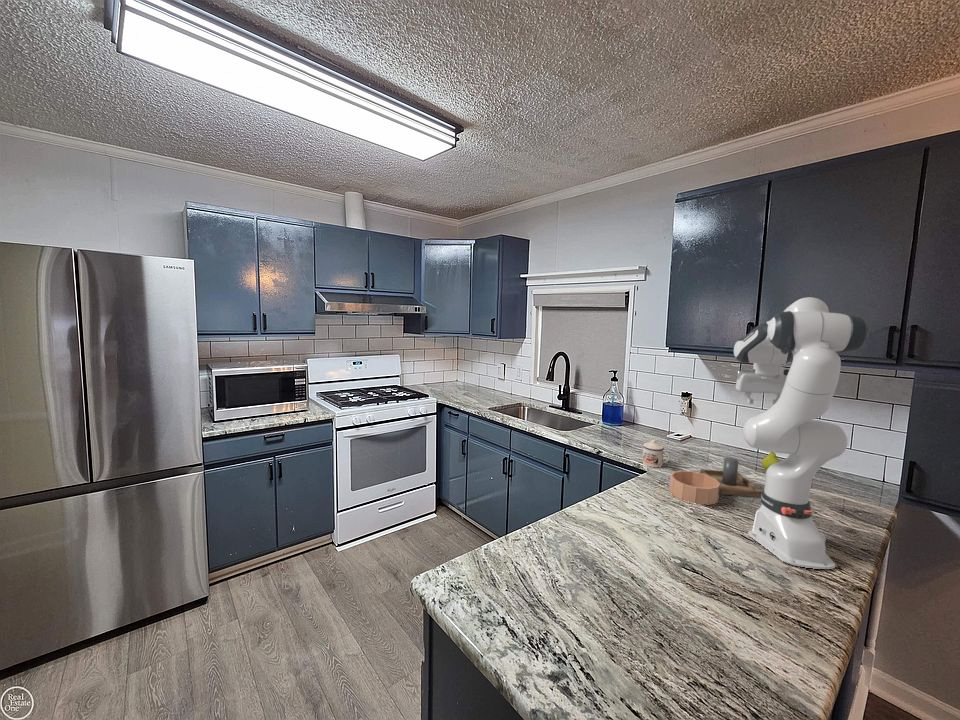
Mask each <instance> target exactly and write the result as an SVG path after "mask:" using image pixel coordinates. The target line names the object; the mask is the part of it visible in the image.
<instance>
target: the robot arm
mask: <svg viewBox="0 0 960 720" xmlns="http://www.w3.org/2000/svg"><path fill="white" fill-rule="evenodd" d="M868 335H869V325H868V323H867V321H866V320H865V319H864V318H863V317H861V316H859V315H855V314H851V313H846V312H840V313H839V312H830V310H829V307H828V305H827V304H826V303H825V301H823V300H822V299H820V298H817V297H811V296H809V297H808V296H807V297H802V298H800V299H797V300H795V301H794V302H793V303H791V304H789V306H787V307H786V308H785V309H784V310H783V311H780V312H777V313H775V314H774V315H772V317H771V319H770V320H768V321H766V322H763V323H761V324H758V325H757V326H756V327H754V328H753V329H752V330H751V331H750V332H749V333H747V334H746V335H745V336H741V337H740V338H738V340H736V341H735V344H734V347H733V356H734V358H735V359H736V360H737V361H738V362H739V363H741V364H753V366H752V367H753V368H741V369H740V370H739V371H738V372H737V373H736V375H737V376H736V377H737V379H736V382H735V383H736V384H735V389H736V391H737V392H739V393H744V395H745V397H746V399H747V401H746V402H747V404H754V401H755V400H754V399H753V398H752V397H751V396H752V394H753V393H755V394H776V396H777V397H776V398H775V399H772V406H771V407H770V408H768V409H767V410H765V411H763V412H761V413H759V414H757V415H754V416H751V417H749V418H748V419H747V420H746V421H745V423H744V424H743V427H742V437H743V439H744V440H745V441H744V442H746V444H747V445H748V446H749V447H750V448H754V449H756V450H761V451H764V452H767V453H768V452H769V453H771V452H773V453H775V454H776V453H777V454H784V455H785V454H786V455H788V456H787V457H786V458H785V459H784V460H782V461H780V462H778V463H775V464H772V465H771V466H770V467H769V468H768V469H767V470H765V478H764V488H763V490H762V495H761V498H760V502H761V505H760V506H759V508H758V509H757V510H756V511H755V516H754V520H753V526H752V530H749V531H748V532H747V536H748V535H750V536H751V537H752V538H753V539H755V540H756V541H757V542H759V543H760V544H761V545H762V546H764V547H765V548H766V549H768V550H769V551H770V552H772V553H773V554H774V555H776V556H777V557H778V558H779V559H781V560H782V561H784V562H787V563H790V564H793V565H797V566H801V567H805V568H804V569H806V568H813V569H812V570H814V569H832V568H835V567H836V563H835V562H834V561H833V560H832V559H831V557H830V556H829V555H828V553H826V542H827V541H826V540H827V537H826V535H825V534H823V533H821V532H819V529H818V528H817V524H815V522H814V520H813V519H812V516H813V515H814V511H813V510H812V506H811V502H810V500H809V499H810V492H811V488H812V484H813V480H814V478H815V475H816V474H817V472H818V471H819V469H820V468H822V467H823V466H824V465H825V464H826V463H828V462H829V461H831V460H834V459H836V458H837V457H840V456H841V455H842V454H844V453H845V451H846V450H847V447H848V442H849V441H848V437H847V434H846V432H845V431H844V429H843V428H842V427H841V426H839V425H838V424H834V423H830V422H827V421H822V420H815V419H818V418H821V417H822V416H823V415H824V414H826V413H827V412H828V410H829V407H830V405H831V402H832V400H833V397H834V394H835V392H836V389H837V386H838V383H839V379H840V373H841V366H842V365H841V364H842V363H841V362H842V361H841V357H840V355H839V354H838V353H837V352H840V353H850V352H857V351H859V350H860V349H861V348H862V347H863V346H864V345H865V344H866V341H867V339H868ZM791 361H792V363H791V365H790V368H787V367H785V366H782V365H786V364H788V363H789V362H791ZM752 538H751V539H752ZM753 539H752V540H753ZM757 542H756V543H757ZM761 545H760V546H761ZM762 546H761V547H762ZM766 549H765V550H766ZM794 562H795V563H794ZM835 569H836V568H835ZM832 570H833V569H832Z"/></svg>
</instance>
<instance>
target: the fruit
mask: <svg viewBox="0 0 960 720" xmlns="http://www.w3.org/2000/svg"><path fill="white" fill-rule="evenodd" d="M778 462H781V461H780V460H779V459H778V457H777V454H776V452H769V454H768V456H766V457H764V458H762V460H761V466H762V467H763V468H764V470H765V471H767V469H768V468H769V467H770V466H771V465H772V464H775V463H778Z"/></svg>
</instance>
